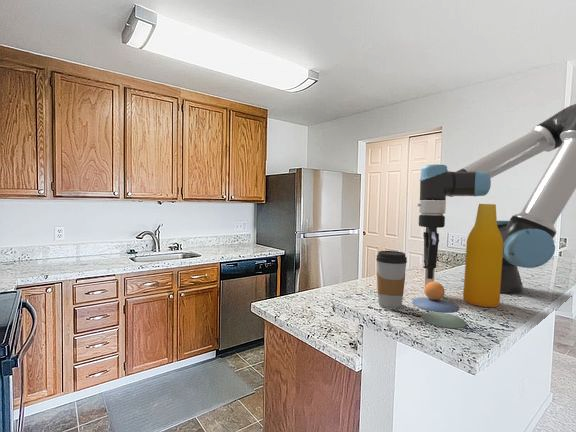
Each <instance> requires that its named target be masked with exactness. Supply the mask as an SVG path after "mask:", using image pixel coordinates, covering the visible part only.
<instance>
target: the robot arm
mask: <svg viewBox="0 0 576 432" xmlns="http://www.w3.org/2000/svg"><path fill="white" fill-rule="evenodd" d="M556 149H557V151H556V153H555V154H554V156H553V158H552V159H551V161H550V163H548V164H549V165H548V166H547V168H546V169H545V171H544V173H543V175H542V176H541V178H540V179H539V181H538V183H537V185H536V187H535V188H534V190H533V191H532V194H531V195H530V197H529V198H528V200H527V202H526V203H525V205H524V207H523V208H522V210H521V212H519V213H516V214H513V215H512V216H511V217H510V219H509V220H497V226H498V229H499V231H500V233H501V236H502V238H503V258H502V272H501V287H500V294H501V293H502V294H504V293H505V294H518V293H522V292H523V287H524V285H523V282H522V279H521V278H522V277H521V275H520V271H519V269H518V267H520V268H526V269H534V268H539V267H541V266H544V265H545V264H547V263H549V261H550V260H551V259H552V258H553V257H554V254H555V251H556V245H555V240H554V238H555V236H556V235H557V230H556V228H555V224H556V222H557V220H558V219H559V217H560V215H561V214H562V212H563V210H564V209H565V207H566V205H568V202H569V201H570V199H571V197H572V195H573V193H574V192H575V191H576V103H574V104H572V105H569V106H567V107H565V108H563V109H561V110H560V111H558V112H557V113H555V114H554V115H552V116H550V117H548V118H547V119H545V120H544V121H542V122H540V123H538V124H537V125H535V126H534V127H532V129H531V130H530V132H528V133H526V134H525V135H523V136H521V137H519V138H517V139H515V140H514V141H511V142H509V143H508V144H506V145H504V146H502V147H500V148H498V149H496V150H494V151H492V152H491V153H489V154H487V155H485V156H483V157H480V158H479V159H477V160H475V161H474V162H472V163H470V164H468V165H466V166H464V167H462V168H461V169H459V170H457V171H451V170H450V171H449V169H448V166H447V165H445V164H425V165H423V166H422V167H421V169H420V171H421V172H420V179H419V182H420V183H419V203H417V207H419V209H418V210H419V211H418V212H419V215H418V226H419V227H423V228H425V231H423V235H422V236H423V264H424V265H423V269H424V276H423V277H424V279H423V288H424V289H425V286H426V285H427V284H428V283H429V282H435V270H436V269H437V261H438V249H439V242H440V234H439V233H438V229H439V228H444V227H445V224H446V216H445V215H444V214H446V205H447V201H446V200H447V197H450V198H451V197H484V196H486V195H488V194H489V192H490V190H491V184H492V180H491V179H492V178H494V177H495V176H498V175H500V174H502V173H504V172H506V171H508V170H510V169H512V168H515V166H518V165H519V164H521V163H523V162H525V161H527V160H530V159H531V158H533V157H535V156H537V155H539V154H542V153H543V152H548V153H549V152H550V153H551V152H552V151H554V150H556Z"/></svg>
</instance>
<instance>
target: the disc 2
mask: <svg viewBox="0 0 576 432" xmlns="http://www.w3.org/2000/svg"><path fill="white" fill-rule="evenodd" d="M421 319H422V320H423V321H424V322H425V323H429V325H433V326H436V327H441V328H446V329H461V328H465V327H466V326H467V322H466V320H464V319H463V318H462V317H459V316H457V315H454V314H450V313H447V312H435V311H430V312H424V313H422V315H421Z"/></svg>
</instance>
